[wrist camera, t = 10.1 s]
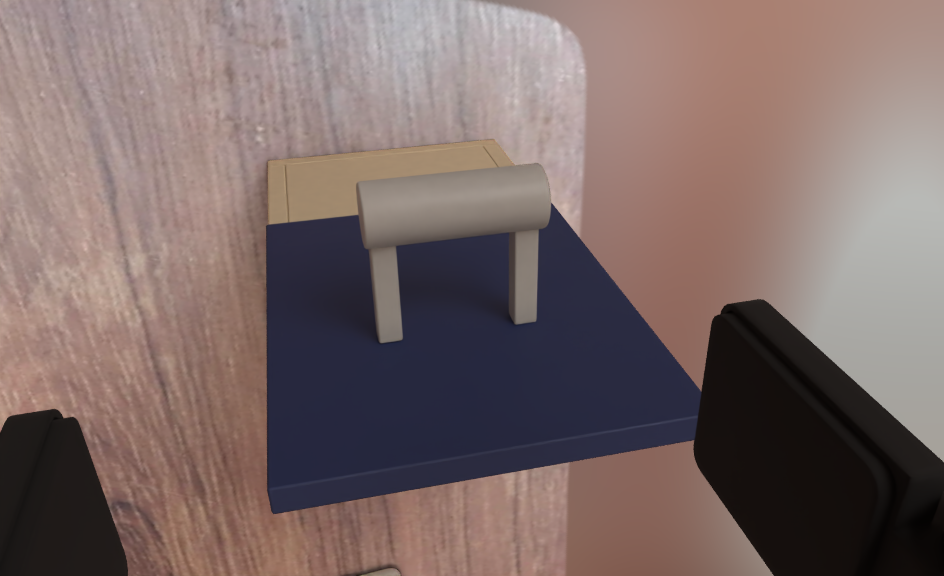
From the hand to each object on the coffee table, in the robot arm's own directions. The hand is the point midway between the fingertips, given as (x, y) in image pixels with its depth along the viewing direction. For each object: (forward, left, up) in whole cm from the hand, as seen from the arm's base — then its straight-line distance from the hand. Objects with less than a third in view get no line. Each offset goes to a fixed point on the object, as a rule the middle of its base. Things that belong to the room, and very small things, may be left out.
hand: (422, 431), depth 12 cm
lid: (+2, +6, -12) cm, 13 cm away
